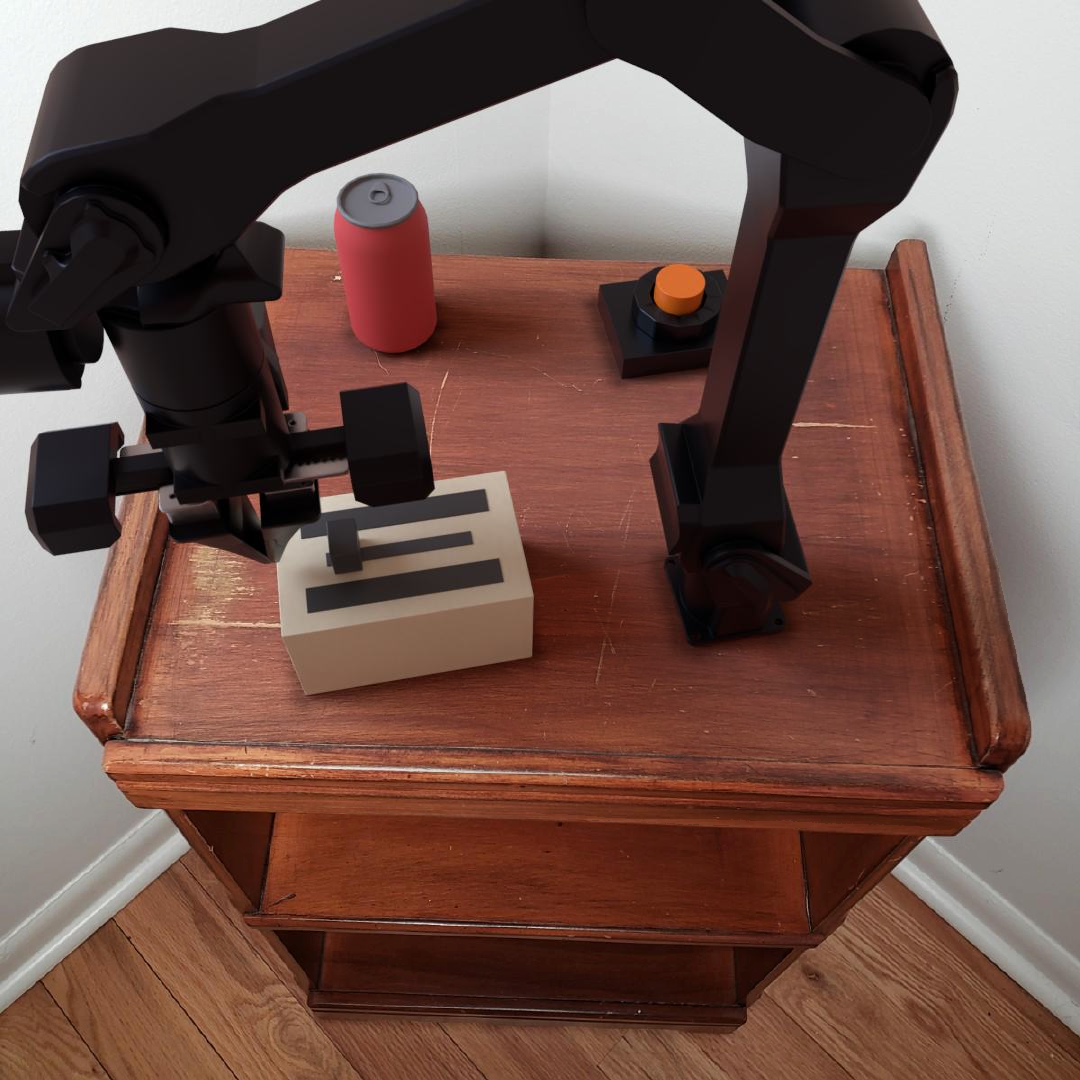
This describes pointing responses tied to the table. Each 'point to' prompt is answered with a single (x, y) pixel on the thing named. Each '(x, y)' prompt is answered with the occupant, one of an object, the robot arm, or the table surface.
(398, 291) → the beer can
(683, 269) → the button
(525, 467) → the table surface
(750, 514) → the robot arm
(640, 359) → the control block
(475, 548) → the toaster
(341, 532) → the slider
